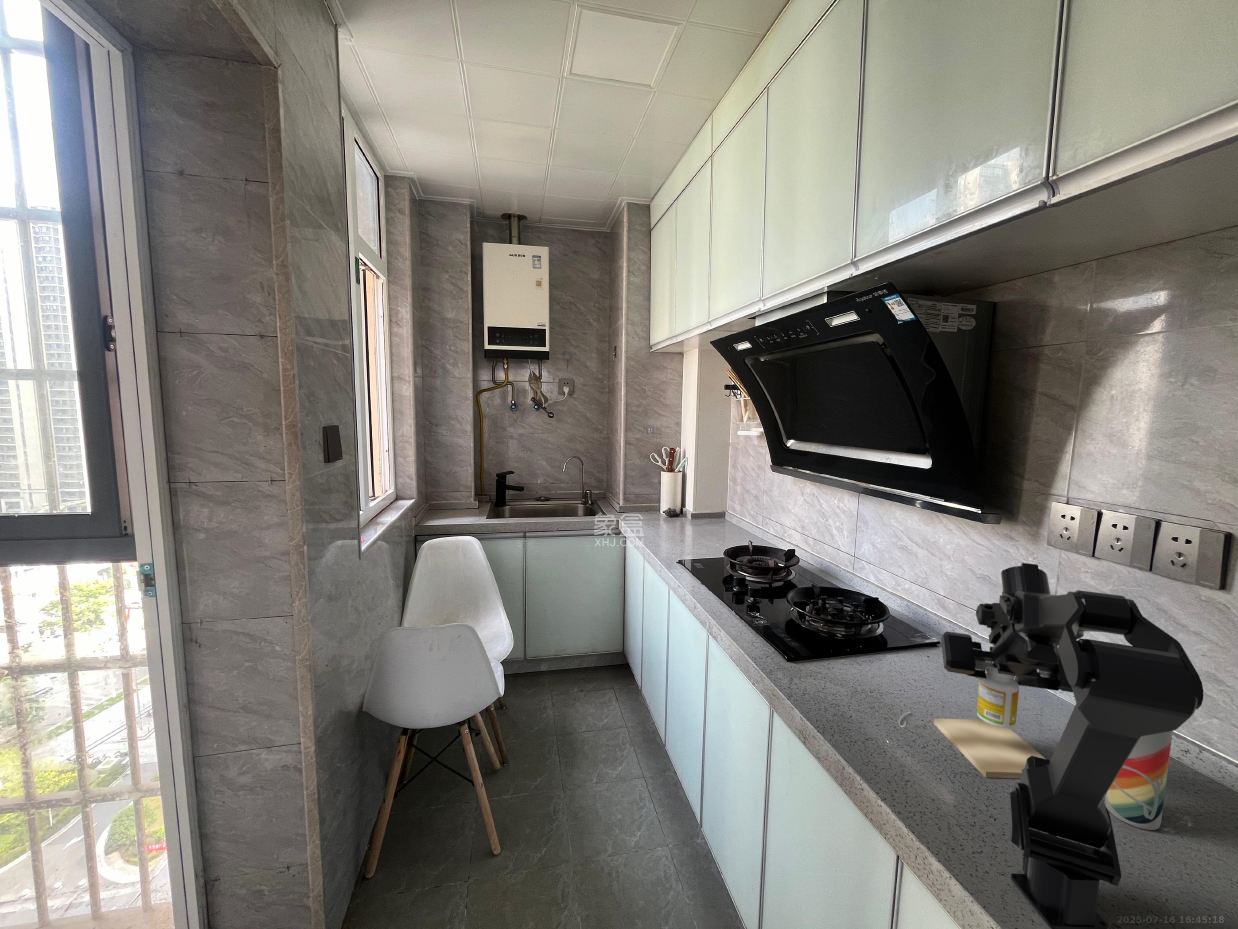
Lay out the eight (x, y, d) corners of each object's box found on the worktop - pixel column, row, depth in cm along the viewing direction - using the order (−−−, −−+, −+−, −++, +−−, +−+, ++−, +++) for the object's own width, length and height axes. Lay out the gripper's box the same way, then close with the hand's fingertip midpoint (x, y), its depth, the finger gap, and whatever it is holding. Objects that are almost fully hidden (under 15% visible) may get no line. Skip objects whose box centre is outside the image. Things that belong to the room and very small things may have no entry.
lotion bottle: (1130, 830, 70) (1146, 694, 68) (1093, 799, 76) (1107, 673, 74) (1172, 832, 70) (1190, 696, 68) (1133, 801, 76) (1148, 674, 74)
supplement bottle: (1002, 711, 89) (1007, 659, 88) (1023, 730, 84) (1028, 674, 83) (969, 709, 89) (974, 656, 89) (988, 728, 84) (993, 672, 83)
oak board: (1062, 779, 80) (1063, 773, 80) (985, 777, 80) (986, 771, 80) (999, 725, 94) (999, 720, 94) (933, 723, 94) (934, 718, 94)
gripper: (1089, 602, 77) (1052, 642, 88) (947, 586, 84) (929, 625, 95) (1112, 676, 71) (1068, 709, 82) (955, 652, 77) (935, 685, 89)
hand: (996, 678), depth 87 cm, fingers closed on supplement bottle, 5 cm apart
